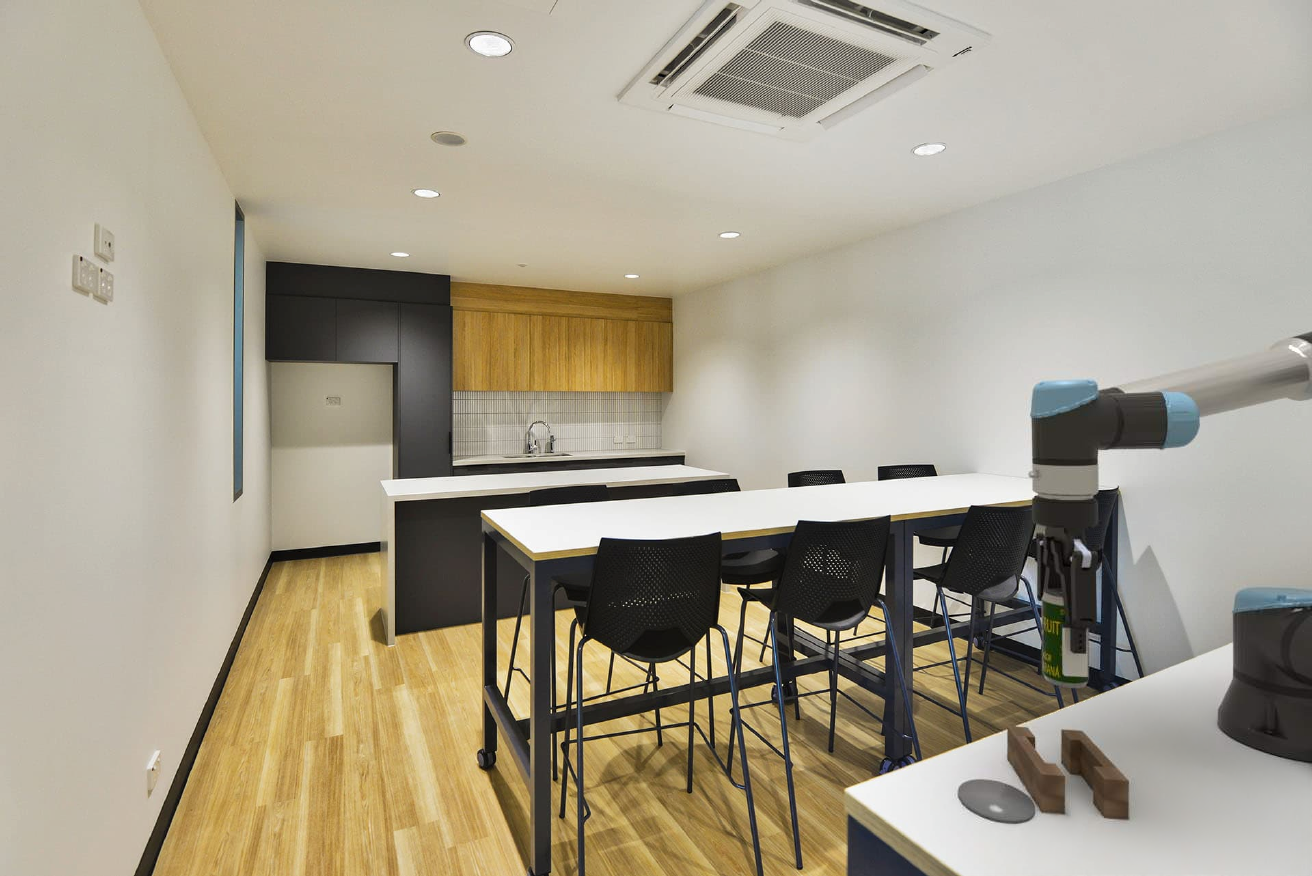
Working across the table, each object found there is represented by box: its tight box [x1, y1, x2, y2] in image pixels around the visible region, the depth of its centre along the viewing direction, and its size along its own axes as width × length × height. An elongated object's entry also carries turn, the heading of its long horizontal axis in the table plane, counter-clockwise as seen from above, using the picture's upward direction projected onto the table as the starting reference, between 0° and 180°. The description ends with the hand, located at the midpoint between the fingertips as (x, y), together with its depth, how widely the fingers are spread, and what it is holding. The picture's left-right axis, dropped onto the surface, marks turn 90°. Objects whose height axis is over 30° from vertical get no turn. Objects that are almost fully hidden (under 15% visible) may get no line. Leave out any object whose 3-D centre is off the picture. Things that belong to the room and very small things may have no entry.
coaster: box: [957, 778, 1036, 824], centre depth 87 cm, size 9×9×1 cm
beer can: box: [1041, 588, 1090, 689], centre depth 89 cm, size 5×5×12 cm
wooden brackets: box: [1006, 725, 1130, 821], centre depth 90 cm, size 10×13×5 cm
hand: (1065, 665), depth 89 cm, fingers closed on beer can, 5 cm apart
